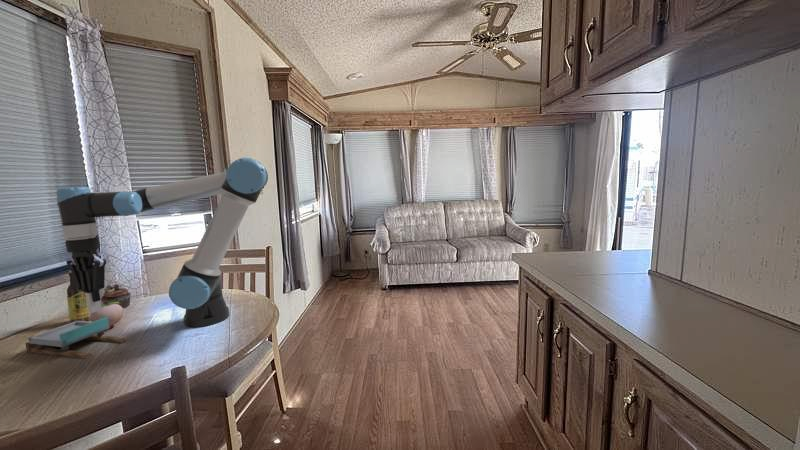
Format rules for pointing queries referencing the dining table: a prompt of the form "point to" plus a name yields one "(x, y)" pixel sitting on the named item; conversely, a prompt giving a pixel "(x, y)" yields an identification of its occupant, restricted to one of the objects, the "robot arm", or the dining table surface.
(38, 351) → the rails
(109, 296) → the cupcake
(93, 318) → the decorative fruit
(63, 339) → the shallow teal tray
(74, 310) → the sauce bottle
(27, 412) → the dining table surface
